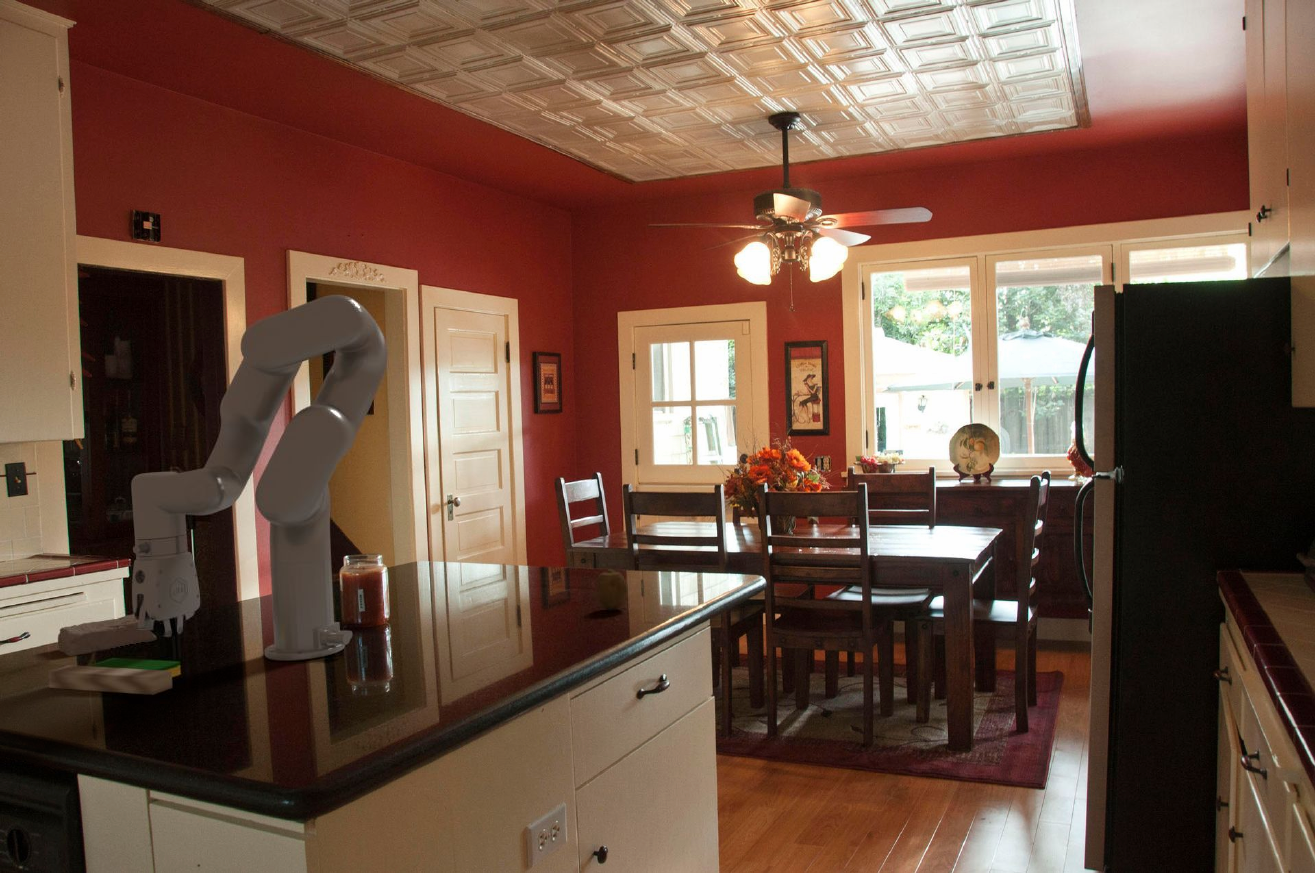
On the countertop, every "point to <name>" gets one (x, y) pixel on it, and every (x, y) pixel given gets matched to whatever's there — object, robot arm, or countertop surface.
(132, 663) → the dish sponge
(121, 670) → the batten
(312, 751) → the countertop surface
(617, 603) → the fruit
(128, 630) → the brick
